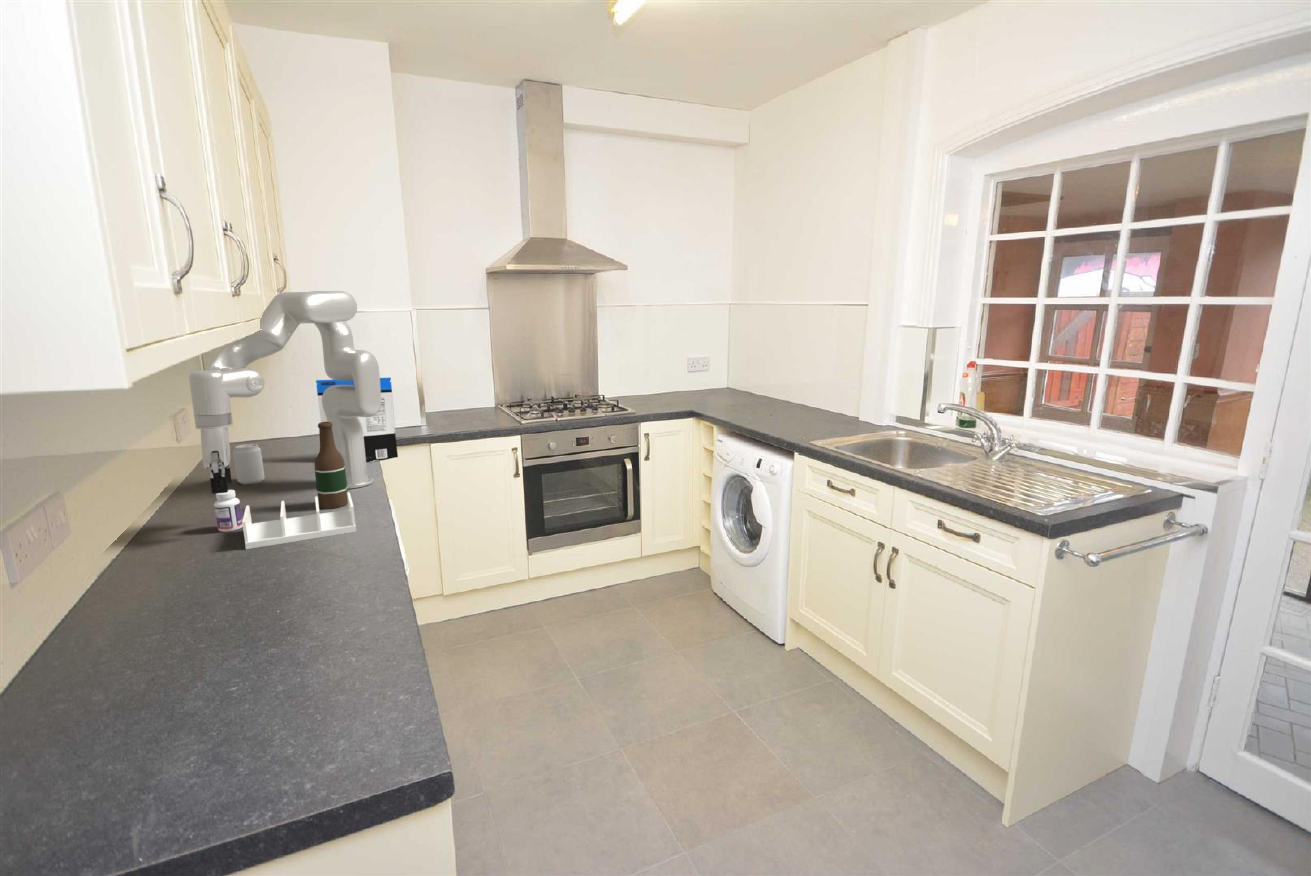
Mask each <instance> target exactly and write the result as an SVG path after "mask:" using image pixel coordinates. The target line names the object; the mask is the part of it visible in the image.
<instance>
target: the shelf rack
mask: <svg viewBox="0 0 1311 876" xmlns="http://www.w3.org/2000/svg"><path fill="white" fill-rule="evenodd" d="M347 497H348V503H347V505H348V509H344V510H338V511H331V512H323V513H322V512H321V513H320V506H319V501H318V495H317V496H315V497H314V499H315V500H314V501H315V509H316V514H308V515H302V516H301V515H300V516H294V517H288V518H287V512H286V505H285V500H281V503H280V516H279V518H280V519H274V520H267V521H260V522H254V523H252V515H251V508H250V505H246V506H245V510H244V513H243V516H242V519H243V521H242V524H243V527H242V530H243V536H244V545H245V549H246V550H250V549H255V548H263V547H268V546H276V545H281V544H288V543H295V542H301V541H307V540H313V539H318V538H319V539H320V538H325V537H326V538H327V537H331V536H337V535H345V534H348V533H355V532H357V524H356V518H355V517H356V515H355V508H354V503H353V502H354V501H353V500H352V496H351V493H350V491H348V492H347ZM344 533H345V534H344Z"/></svg>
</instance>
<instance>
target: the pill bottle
mask: <svg viewBox="0 0 1311 876" xmlns="http://www.w3.org/2000/svg"><path fill="white" fill-rule="evenodd" d="M215 498H216V501H215V502H214V504H213V507H214V512H215V513H214V514H215V518H216V525H217V529H218V531H219V532H226V533H229V532H233V531H237V530H240V529H243V524H242V521H243V516H242V515H243V514H242V507H241V506H242V505H241V501H240V498H237V497H236V491H235V490H234V489H228V492H227V493H218V494H215Z"/></svg>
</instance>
